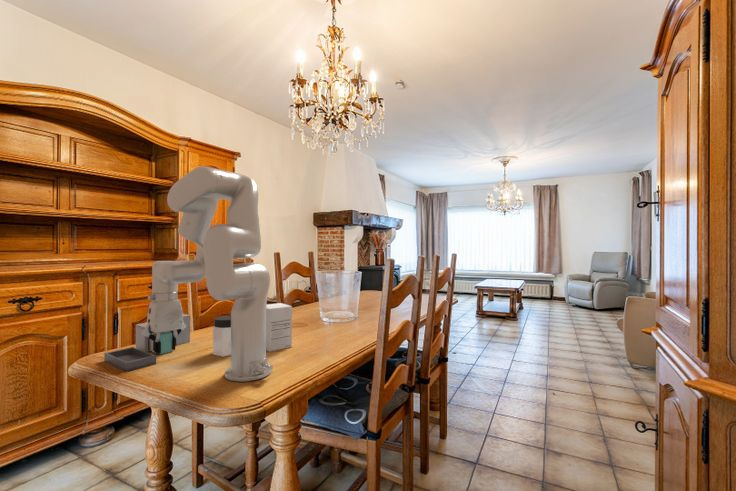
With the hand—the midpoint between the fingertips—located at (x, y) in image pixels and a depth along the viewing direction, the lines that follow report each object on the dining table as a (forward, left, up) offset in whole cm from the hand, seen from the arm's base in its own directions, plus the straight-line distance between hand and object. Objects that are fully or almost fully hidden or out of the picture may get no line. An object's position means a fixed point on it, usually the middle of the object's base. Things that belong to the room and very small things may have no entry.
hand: (164, 350), depth 117 cm
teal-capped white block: (+6, 0, -1) cm, 6 cm away
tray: (-1, +11, -1) cm, 11 cm away
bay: (+9, -4, -1) cm, 10 cm away
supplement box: (-25, -26, -1) cm, 36 cm away
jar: (-17, -12, -1) cm, 21 cm away
